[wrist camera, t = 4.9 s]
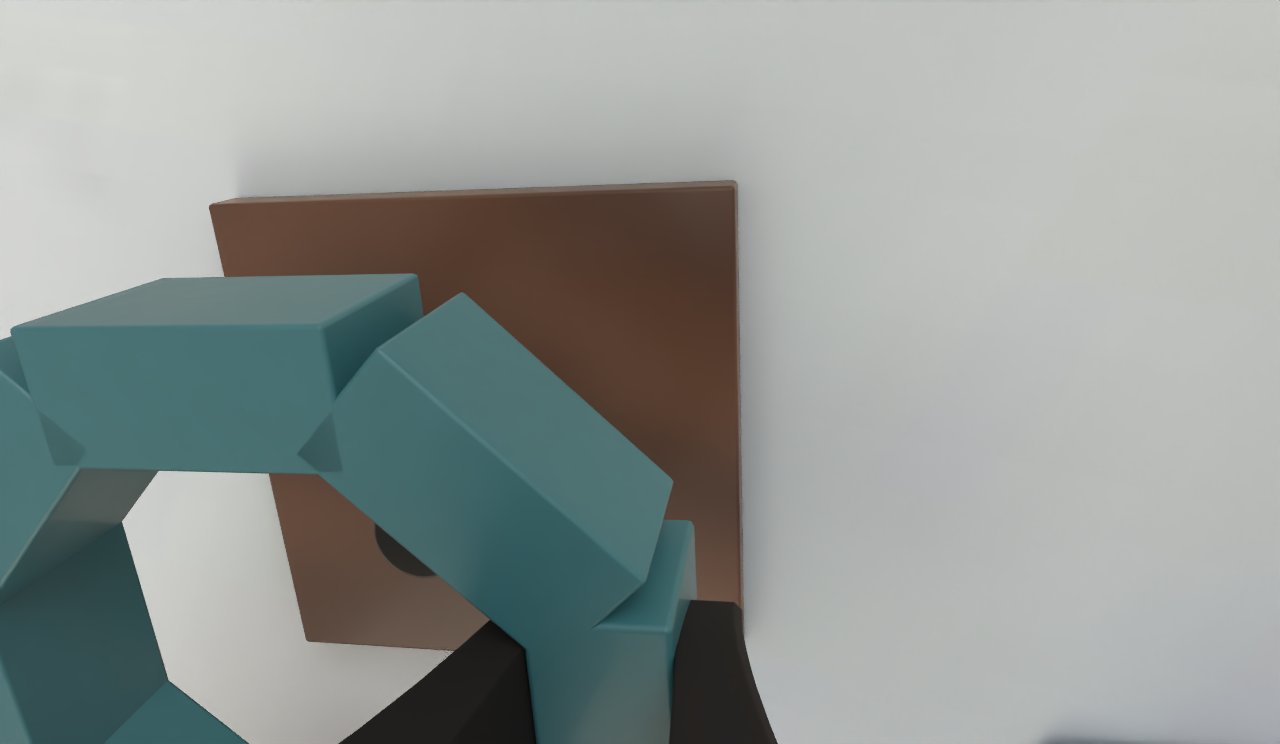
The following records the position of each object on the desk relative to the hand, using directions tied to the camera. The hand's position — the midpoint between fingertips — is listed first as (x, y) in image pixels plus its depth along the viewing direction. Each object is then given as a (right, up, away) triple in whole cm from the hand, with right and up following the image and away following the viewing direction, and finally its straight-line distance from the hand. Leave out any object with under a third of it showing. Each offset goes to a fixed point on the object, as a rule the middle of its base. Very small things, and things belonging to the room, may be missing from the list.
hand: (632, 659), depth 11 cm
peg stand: (-3, +2, +9) cm, 10 cm away
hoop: (-4, 0, +1) cm, 4 cm away
